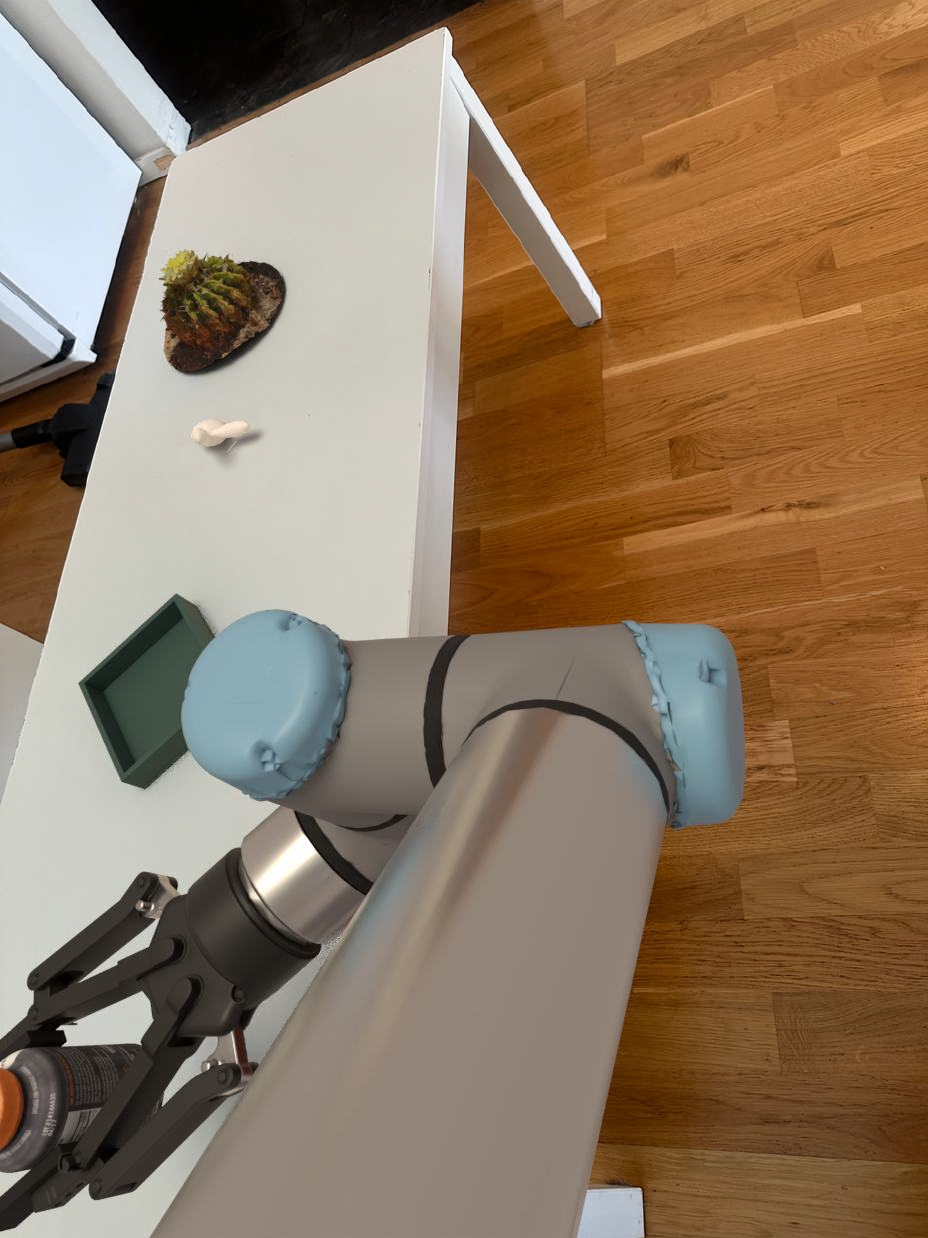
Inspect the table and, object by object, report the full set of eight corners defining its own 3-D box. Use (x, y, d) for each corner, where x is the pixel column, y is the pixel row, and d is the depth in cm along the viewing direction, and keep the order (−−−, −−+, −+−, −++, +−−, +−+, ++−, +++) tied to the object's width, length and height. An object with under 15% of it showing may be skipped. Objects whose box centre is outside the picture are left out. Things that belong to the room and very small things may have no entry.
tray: (249, 694, 78) (229, 683, 75) (144, 789, 78) (121, 782, 76) (196, 605, 85) (175, 592, 83) (100, 692, 86) (77, 683, 83)
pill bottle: (94, 1052, 55) (-64, 1058, 46) (168, 1035, 53) (20, 1038, 44) (89, 1159, 52) (-81, 1190, 43) (167, 1145, 51) (8, 1173, 41)
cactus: (265, 243, 105) (215, 178, 97) (302, 315, 97) (251, 250, 89) (157, 323, 108) (99, 267, 100) (183, 400, 99) (123, 345, 91)
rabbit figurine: (225, 413, 95) (246, 408, 88) (237, 447, 96) (259, 445, 90) (174, 428, 93) (192, 424, 86) (187, 463, 94) (205, 462, 87)
